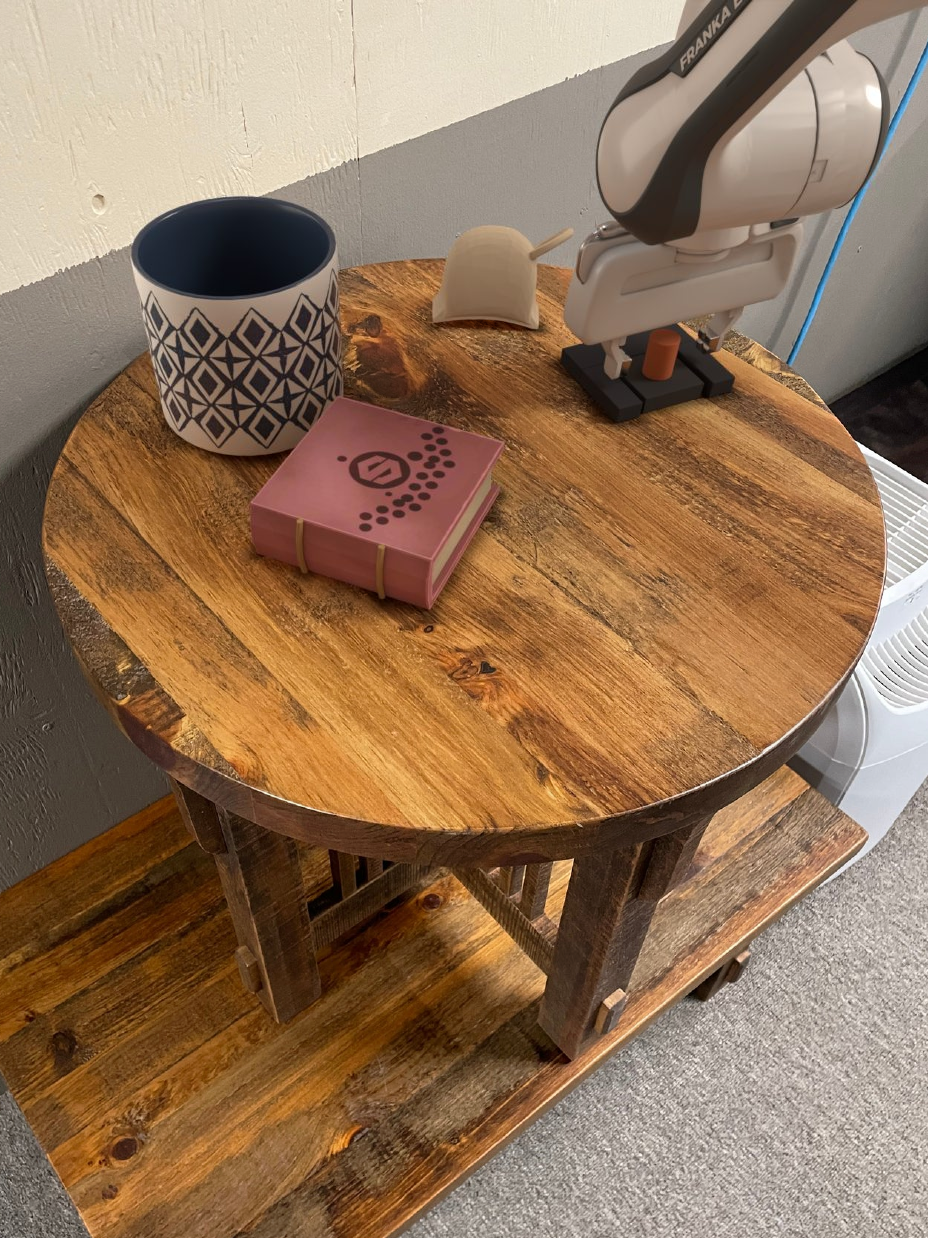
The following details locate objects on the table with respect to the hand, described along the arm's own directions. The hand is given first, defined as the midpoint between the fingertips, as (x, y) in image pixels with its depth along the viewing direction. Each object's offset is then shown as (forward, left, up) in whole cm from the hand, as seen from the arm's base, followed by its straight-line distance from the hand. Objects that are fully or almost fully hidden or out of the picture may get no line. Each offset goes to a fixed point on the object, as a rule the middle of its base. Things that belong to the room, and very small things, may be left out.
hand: (661, 361), depth 88 cm
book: (+30, +7, -3) cm, 31 cm away
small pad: (0, 0, -3) cm, 3 cm away
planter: (+34, -12, -3) cm, 36 cm away
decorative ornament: (+14, -18, -3) cm, 23 cm away
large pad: (0, -2, -3) cm, 3 cm away
